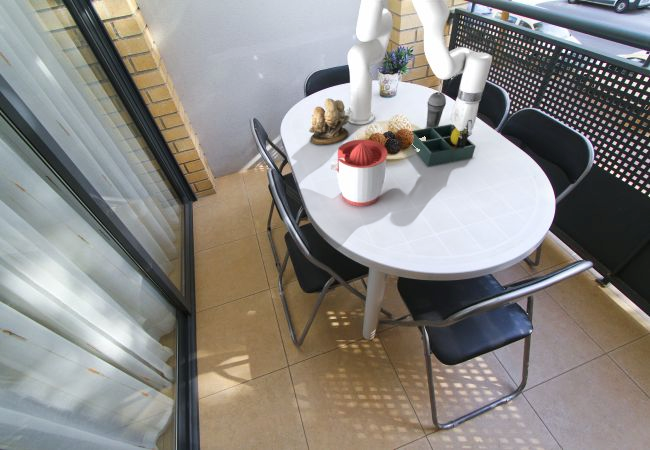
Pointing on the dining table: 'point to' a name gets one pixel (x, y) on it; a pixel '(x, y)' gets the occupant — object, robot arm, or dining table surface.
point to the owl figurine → (329, 123)
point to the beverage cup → (435, 108)
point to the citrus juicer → (360, 171)
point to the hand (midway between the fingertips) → (457, 142)
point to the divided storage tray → (440, 146)
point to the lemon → (455, 136)
